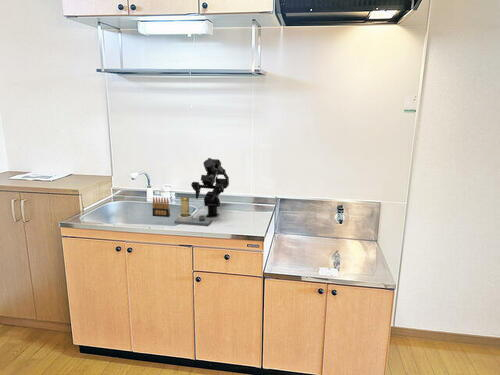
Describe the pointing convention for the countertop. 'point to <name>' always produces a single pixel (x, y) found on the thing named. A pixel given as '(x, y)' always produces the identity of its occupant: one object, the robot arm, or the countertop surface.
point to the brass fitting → (184, 206)
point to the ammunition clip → (161, 208)
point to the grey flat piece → (193, 220)
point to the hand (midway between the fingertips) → (204, 199)
